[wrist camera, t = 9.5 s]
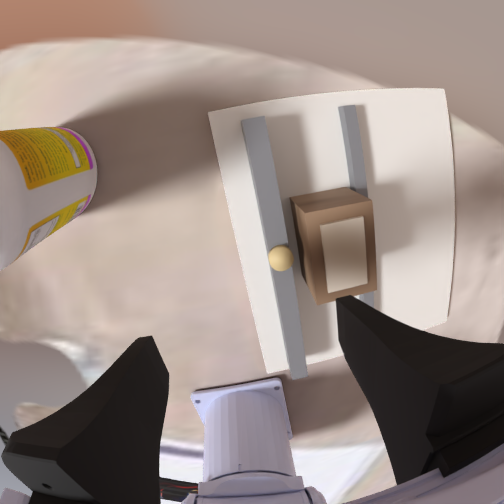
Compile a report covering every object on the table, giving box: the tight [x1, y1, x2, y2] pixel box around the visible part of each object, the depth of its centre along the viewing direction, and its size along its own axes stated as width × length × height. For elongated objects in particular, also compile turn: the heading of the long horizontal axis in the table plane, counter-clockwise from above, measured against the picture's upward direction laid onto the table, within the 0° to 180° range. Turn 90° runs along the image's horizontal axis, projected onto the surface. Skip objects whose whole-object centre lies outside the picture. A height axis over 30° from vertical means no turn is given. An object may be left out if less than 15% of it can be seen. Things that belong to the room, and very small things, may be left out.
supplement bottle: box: [0, 127, 97, 271], centre depth 13 cm, size 7×7×13 cm
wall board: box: [208, 88, 455, 380], centre depth 20 cm, size 20×17×4 cm
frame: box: [289, 187, 377, 305], centre depth 19 cm, size 6×4×4 cm
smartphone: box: [159, 477, 198, 502], centre depth 33 cm, size 7×1×15 cm
